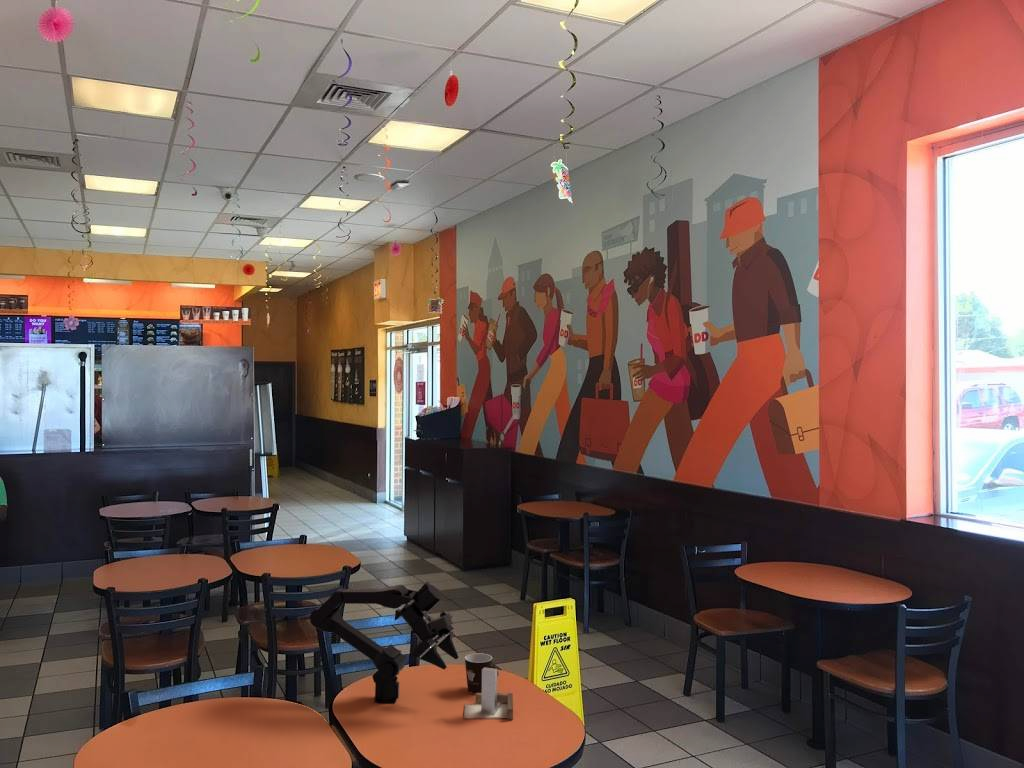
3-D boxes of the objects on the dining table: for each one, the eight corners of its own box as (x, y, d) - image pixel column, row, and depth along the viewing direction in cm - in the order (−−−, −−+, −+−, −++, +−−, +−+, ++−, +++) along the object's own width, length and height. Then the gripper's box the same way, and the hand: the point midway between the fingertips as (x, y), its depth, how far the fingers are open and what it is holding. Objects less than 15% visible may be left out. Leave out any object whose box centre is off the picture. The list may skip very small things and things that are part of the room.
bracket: (481, 713, 231) (481, 669, 231) (488, 705, 236) (488, 662, 237) (494, 714, 230) (495, 671, 230) (500, 707, 235) (501, 664, 235)
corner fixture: (463, 719, 227) (463, 708, 227) (465, 702, 239) (465, 692, 239) (512, 719, 227) (513, 709, 227) (512, 703, 239) (512, 693, 239)
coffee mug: (460, 687, 252) (460, 655, 252) (485, 683, 255) (485, 651, 255) (474, 700, 241) (474, 667, 241) (500, 696, 245) (500, 663, 245)
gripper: (423, 612, 228) (458, 656, 225) (448, 596, 246) (481, 637, 242) (397, 637, 231) (431, 680, 227) (424, 619, 248) (456, 659, 245)
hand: (451, 663), depth 235 cm, fingers open, 9 cm apart
